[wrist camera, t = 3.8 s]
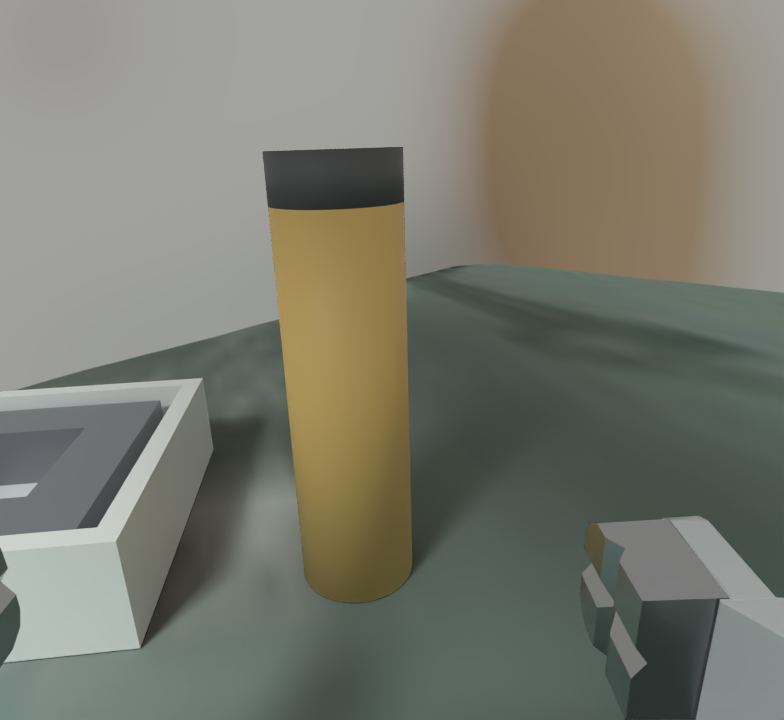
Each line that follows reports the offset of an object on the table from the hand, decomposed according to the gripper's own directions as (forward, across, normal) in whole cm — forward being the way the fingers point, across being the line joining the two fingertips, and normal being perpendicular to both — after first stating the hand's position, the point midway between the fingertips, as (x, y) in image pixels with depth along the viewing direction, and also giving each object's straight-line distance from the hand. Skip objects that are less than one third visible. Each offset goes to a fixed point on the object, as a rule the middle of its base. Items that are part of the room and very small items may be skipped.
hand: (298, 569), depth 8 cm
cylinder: (+11, 0, +9) cm, 14 cm away
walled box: (+14, +14, +9) cm, 22 cm away
